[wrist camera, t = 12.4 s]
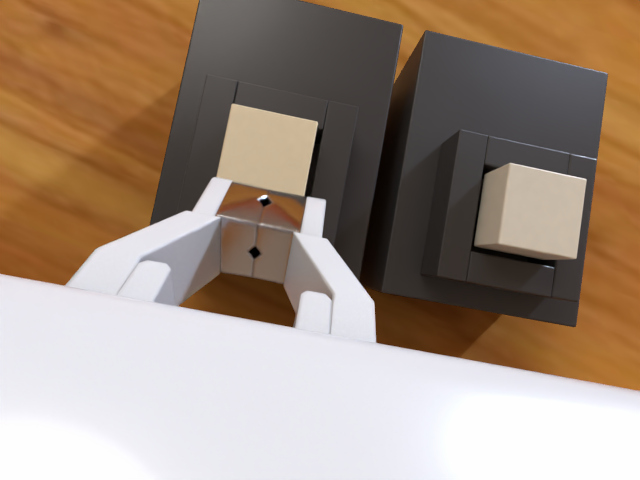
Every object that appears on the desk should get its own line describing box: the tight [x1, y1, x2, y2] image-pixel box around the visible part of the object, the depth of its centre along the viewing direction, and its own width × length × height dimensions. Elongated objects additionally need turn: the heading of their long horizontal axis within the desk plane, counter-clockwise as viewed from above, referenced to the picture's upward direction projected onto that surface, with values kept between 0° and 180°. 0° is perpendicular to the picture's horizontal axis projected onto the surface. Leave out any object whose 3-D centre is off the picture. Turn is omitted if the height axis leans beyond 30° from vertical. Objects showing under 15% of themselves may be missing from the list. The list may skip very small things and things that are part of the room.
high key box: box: [150, 0, 403, 281], centre depth 17 cm, size 12×9×7 cm
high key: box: [216, 104, 318, 196], centre depth 13 cm, size 3×3×2 cm
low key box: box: [359, 30, 608, 327], centre depth 18 cm, size 12×9×7 cm
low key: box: [474, 163, 587, 260], centre depth 14 cm, size 3×3×2 cm
